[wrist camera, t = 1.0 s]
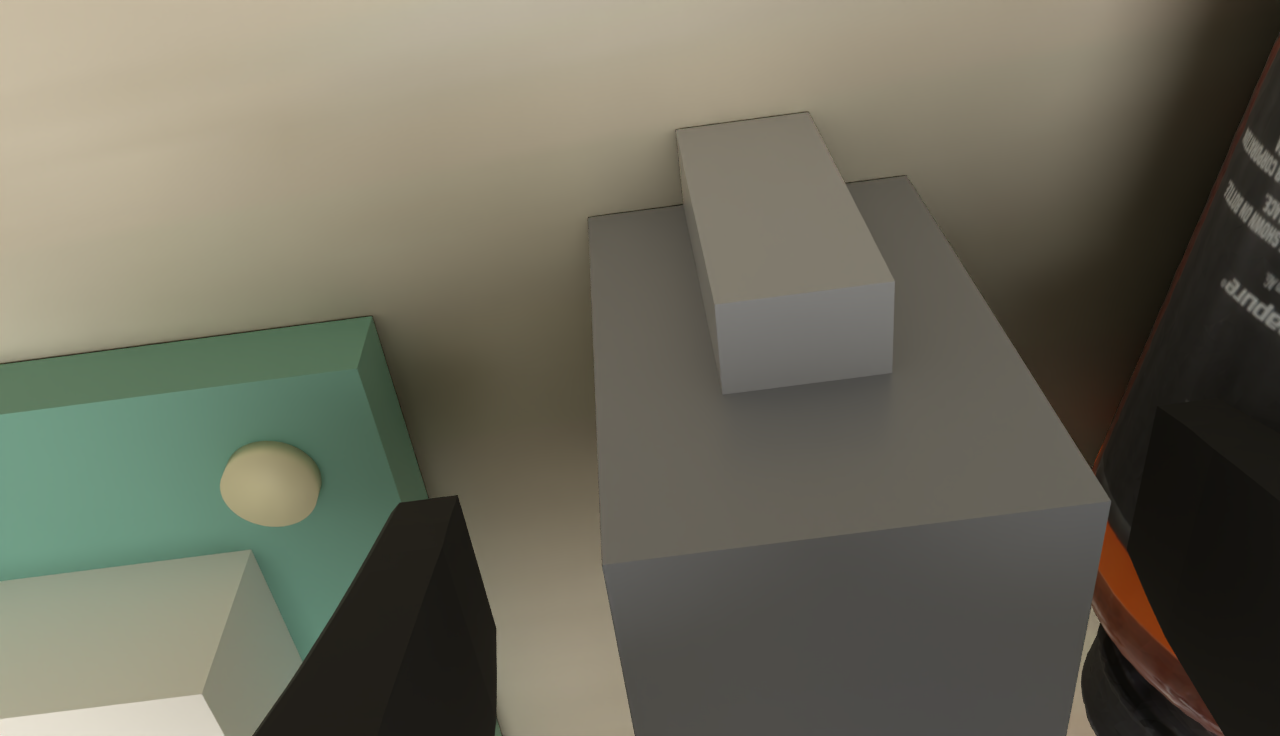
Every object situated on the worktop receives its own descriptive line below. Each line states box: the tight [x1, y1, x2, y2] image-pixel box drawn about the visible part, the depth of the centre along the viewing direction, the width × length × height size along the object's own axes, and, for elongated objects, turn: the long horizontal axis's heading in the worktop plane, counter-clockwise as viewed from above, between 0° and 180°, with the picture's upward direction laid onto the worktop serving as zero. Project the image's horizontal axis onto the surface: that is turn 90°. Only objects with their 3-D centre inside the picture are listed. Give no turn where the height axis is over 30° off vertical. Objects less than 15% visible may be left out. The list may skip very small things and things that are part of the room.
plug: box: [588, 112, 1111, 736], centre depth 12 cm, size 5×4×6 cm
